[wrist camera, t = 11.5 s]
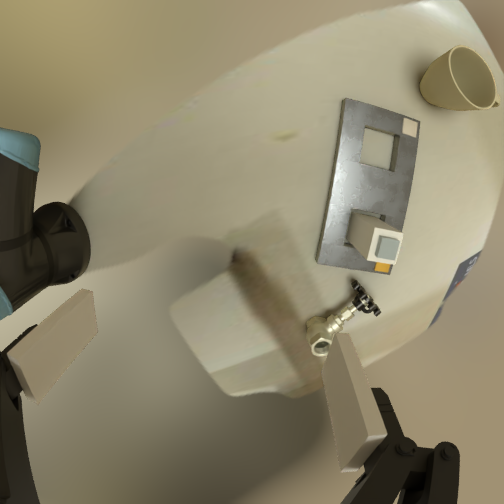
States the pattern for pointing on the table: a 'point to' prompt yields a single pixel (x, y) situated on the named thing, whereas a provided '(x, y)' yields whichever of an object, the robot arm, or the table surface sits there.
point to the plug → (374, 238)
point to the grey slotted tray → (366, 182)
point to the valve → (336, 322)
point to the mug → (460, 81)
